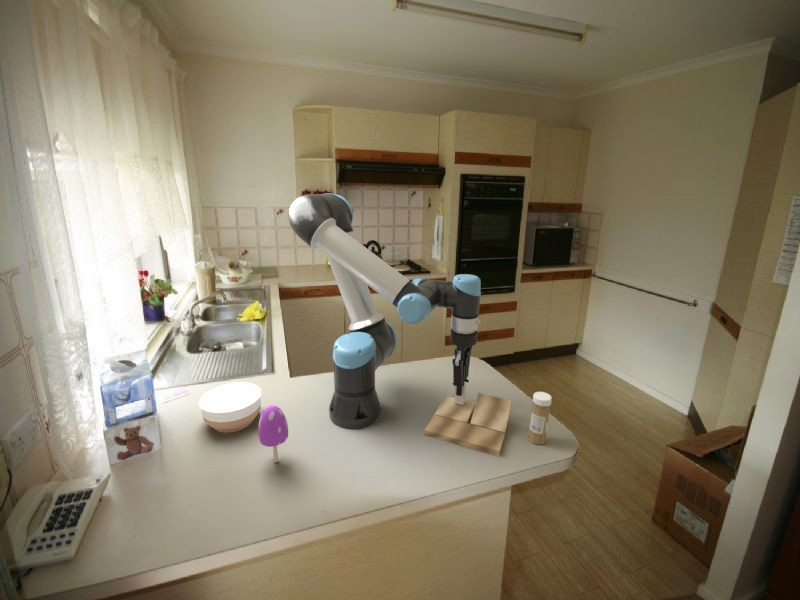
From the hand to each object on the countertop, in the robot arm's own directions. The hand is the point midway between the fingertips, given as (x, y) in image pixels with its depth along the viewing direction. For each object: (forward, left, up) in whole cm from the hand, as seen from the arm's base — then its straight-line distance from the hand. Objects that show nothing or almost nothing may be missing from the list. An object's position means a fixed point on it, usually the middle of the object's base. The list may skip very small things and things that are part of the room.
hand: (459, 402), depth 117 cm
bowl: (-56, -33, -3) cm, 65 cm away
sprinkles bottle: (+23, -5, -3) cm, 24 cm away
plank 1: (0, -3, -1) cm, 3 cm away
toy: (-34, -41, -3) cm, 54 cm away
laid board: (+5, -12, -2) cm, 13 cm away
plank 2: (+10, -3, +1) cm, 10 cm away
